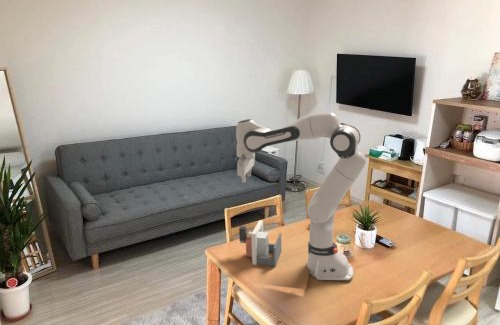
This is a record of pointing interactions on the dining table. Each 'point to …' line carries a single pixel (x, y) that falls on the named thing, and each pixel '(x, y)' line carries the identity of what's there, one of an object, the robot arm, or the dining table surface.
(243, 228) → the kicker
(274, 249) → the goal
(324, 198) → the robot arm
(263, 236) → the supplement box
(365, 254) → the dining table surface
